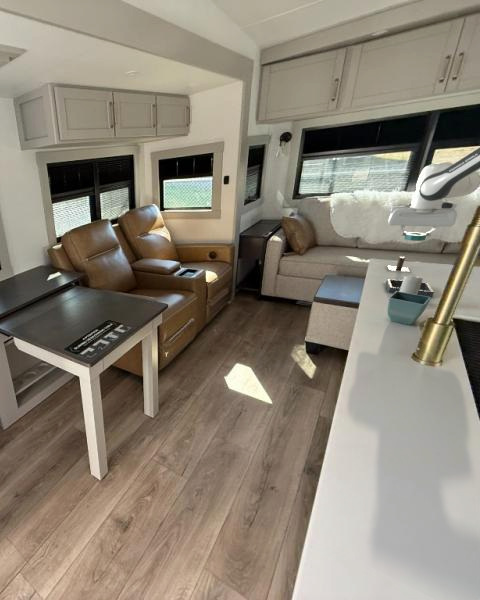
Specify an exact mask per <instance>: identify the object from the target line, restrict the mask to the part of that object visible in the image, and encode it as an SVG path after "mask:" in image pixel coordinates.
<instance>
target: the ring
mask: <svg viewBox="0 0 480 600" xmlns="http://www.w3.org/2000/svg"><path fill="white" fill-rule="evenodd" d="M426 238H427V236H426V232H416V231H415V232H414V231H413V232H411V231H409V232H407V233H406V236H403V239H404V240H406V241H413V242H422V241H426Z"/></svg>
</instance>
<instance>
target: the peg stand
mask: <svg viewBox="0 0 480 600" xmlns="http://www.w3.org/2000/svg"><path fill="white" fill-rule="evenodd" d="M405 260H406V257H405V256H399V257H398V260H397V263H396V266H393V265H387V268H388V270H389V271H396V272H407V273H410V272H411V271H410V269H409V267H406V266H404V262H405Z"/></svg>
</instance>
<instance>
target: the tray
mask: <svg viewBox="0 0 480 600" xmlns="http://www.w3.org/2000/svg"><path fill="white" fill-rule="evenodd" d="M402 282H403V279H395V278H394V279H393V278H386V282H385V287H386V291H387V293H388V294H394V293H395V292H396V291H400V288H401V285H402ZM434 294H435V291H434V290H433V288H432V287H431V285H430V283H429V282H424V281H422V283H421V285H420V288H419V291H418V293H417V295H422V296H427V297H431V299H432V298H433V296H434Z"/></svg>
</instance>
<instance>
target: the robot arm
mask: <svg viewBox="0 0 480 600" xmlns="http://www.w3.org/2000/svg"><path fill="white" fill-rule="evenodd" d="M479 170H480V147H478V148H477V149H475V150H473V151H472V152H470V153H469V154H467V155H465V156H464V157H463V158H461V159H459V160H457V161H456V162H454V163H452V162H451V161H450V162H449V161H444V162H436V163H432V164H429V165H426V166H425V167H424V168H423V169H422V170H421V172H420V174H419V177H418V180H417V182H416V186H415V187H416V188H415V189H416V190H415V193H414V194H413V196H412V199H411V202H410V203H398V204H397V203H396V204H395V205H392V206H391V207H390V211H389V212H390V215H389V217H388V221H387V224H388V225H389V226H399V229H400V231H401V233H400V236H401V237H402V236H403V237H405V236H406V233H408V231H406V230H404V229H405V228H406V226H407V227H413V226H414V227H431V229H430V230H429V231H426V232H425V234H426V237H429V238H430V237H432V234H433V233H434V232H435V231H436V230H437V229H438V228H439V227H453V226H454V225H455V224H456V220H457V217H458V213H457V210H456V208H457V205H458V204H457V203H456V202H454V201H451V200H447V199H451V198H452V199H453V198H460V197H464V196H465V197H466V196H468V195H471V194H472V193H475V191H476V190H477V189H478V188H479V187H480V174H479V173H478V172H477V171H479Z"/></svg>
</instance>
